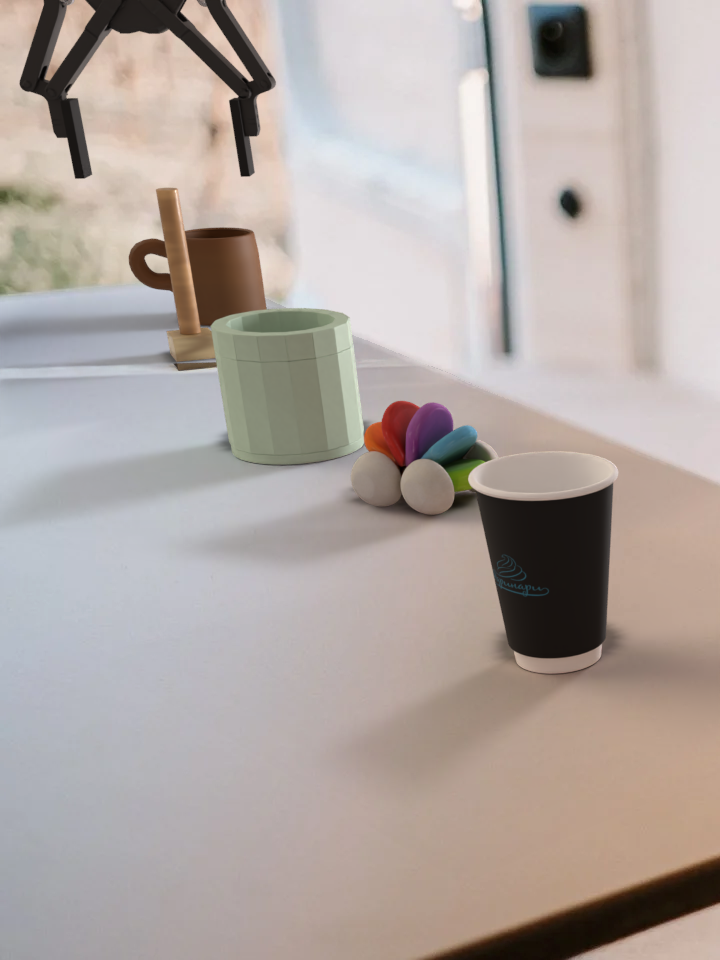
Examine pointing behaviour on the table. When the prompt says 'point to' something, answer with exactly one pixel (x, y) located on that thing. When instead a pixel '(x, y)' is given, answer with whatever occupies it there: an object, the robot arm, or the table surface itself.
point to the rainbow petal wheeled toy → (417, 458)
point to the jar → (289, 385)
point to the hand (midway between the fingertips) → (166, 176)
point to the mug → (211, 271)
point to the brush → (182, 289)
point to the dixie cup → (549, 553)
